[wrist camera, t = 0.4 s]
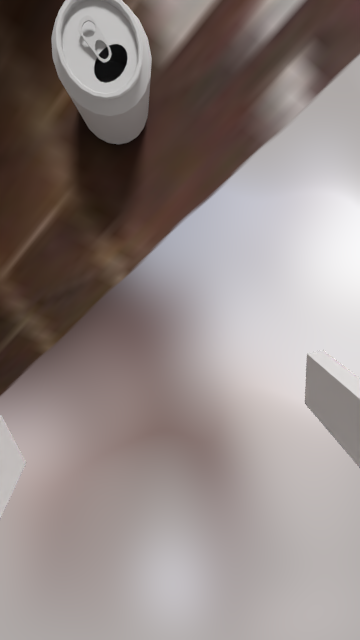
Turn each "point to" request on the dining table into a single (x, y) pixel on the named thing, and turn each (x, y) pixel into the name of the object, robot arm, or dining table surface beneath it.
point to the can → (104, 66)
